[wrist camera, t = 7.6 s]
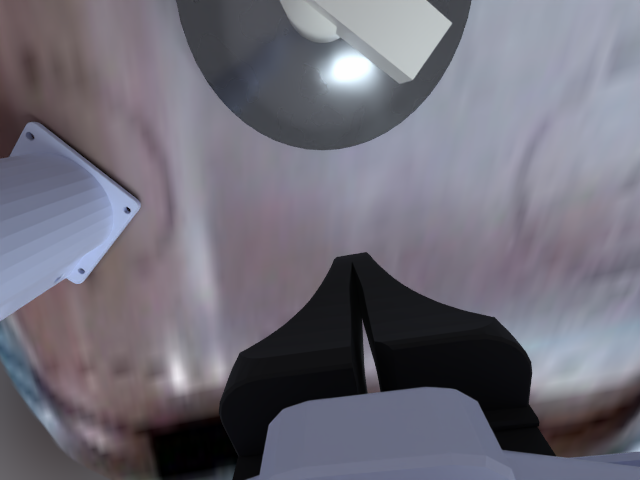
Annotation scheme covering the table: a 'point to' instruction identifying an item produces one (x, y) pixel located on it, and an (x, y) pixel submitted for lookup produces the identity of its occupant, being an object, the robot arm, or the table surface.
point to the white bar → (374, 29)
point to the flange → (305, 73)
